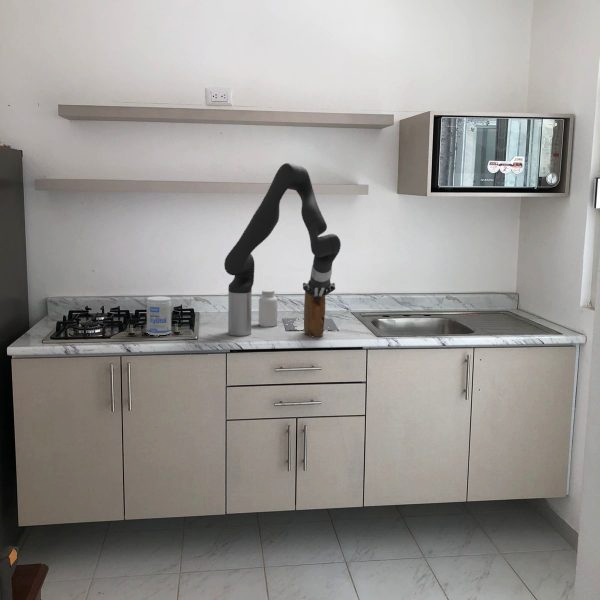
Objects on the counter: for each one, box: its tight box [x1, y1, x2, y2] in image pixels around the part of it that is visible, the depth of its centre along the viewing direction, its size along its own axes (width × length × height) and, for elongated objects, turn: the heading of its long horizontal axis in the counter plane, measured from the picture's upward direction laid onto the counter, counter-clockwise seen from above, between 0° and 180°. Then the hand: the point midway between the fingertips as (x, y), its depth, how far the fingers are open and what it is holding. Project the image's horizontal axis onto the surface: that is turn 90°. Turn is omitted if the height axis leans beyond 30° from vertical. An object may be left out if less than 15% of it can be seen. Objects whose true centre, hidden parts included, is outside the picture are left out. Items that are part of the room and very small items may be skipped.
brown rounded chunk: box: [303, 290, 326, 338], centre depth 299 cm, size 11×8×20 cm
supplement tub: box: [146, 295, 172, 337], centre depth 295 cm, size 10×10×15 cm
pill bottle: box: [258, 289, 278, 328], centre depth 316 cm, size 8×8×15 cm
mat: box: [282, 317, 340, 332], centre depth 319 cm, size 22×24×1 cm
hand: (316, 299), depth 291 cm, fingers closed
